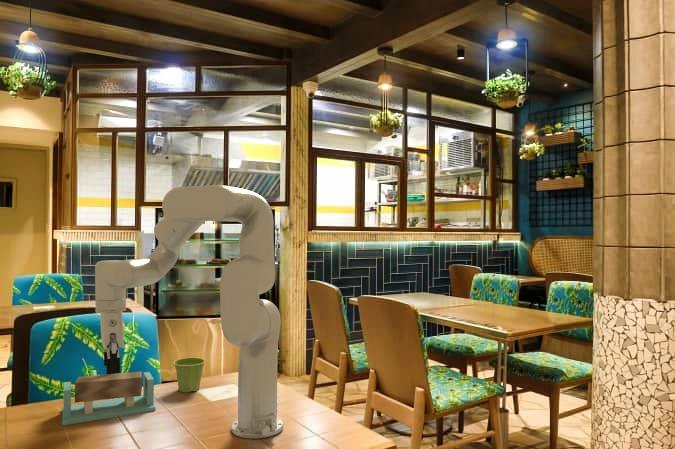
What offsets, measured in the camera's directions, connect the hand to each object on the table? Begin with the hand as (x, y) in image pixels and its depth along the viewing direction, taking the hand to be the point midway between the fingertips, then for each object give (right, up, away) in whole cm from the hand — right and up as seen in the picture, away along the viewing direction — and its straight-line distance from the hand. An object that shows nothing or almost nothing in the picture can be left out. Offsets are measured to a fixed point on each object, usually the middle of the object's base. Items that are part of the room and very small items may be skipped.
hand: (111, 369), depth 134 cm
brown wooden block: (-1, -7, 0) cm, 7 cm away
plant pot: (+16, -12, +18) cm, 27 cm away
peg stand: (-1, -11, 0) cm, 11 cm away
